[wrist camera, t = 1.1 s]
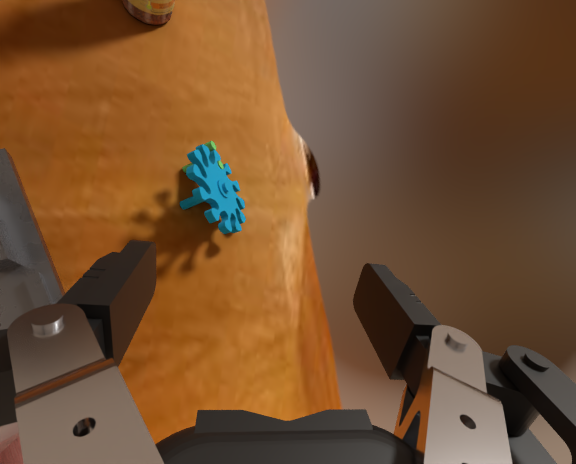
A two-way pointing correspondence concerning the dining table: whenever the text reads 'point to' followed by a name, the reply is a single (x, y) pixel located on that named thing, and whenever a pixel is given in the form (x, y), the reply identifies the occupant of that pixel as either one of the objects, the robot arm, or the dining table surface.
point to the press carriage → (10, 445)
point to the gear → (214, 188)
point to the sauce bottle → (150, 10)
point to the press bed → (22, 252)
